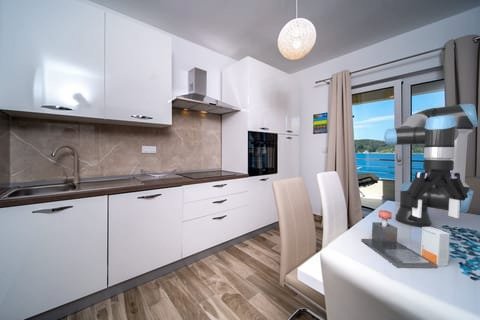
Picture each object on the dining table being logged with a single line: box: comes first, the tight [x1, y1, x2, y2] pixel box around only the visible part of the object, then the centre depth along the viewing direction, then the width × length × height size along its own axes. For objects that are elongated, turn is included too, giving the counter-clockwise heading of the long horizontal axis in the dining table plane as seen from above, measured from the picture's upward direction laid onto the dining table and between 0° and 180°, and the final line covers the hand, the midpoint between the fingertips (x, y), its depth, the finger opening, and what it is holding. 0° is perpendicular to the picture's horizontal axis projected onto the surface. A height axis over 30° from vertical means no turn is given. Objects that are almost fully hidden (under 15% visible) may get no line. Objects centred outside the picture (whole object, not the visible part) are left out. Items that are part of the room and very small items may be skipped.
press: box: [360, 221, 438, 269], centre depth 73 cm, size 14×19×9 cm
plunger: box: [378, 209, 393, 226], centre depth 79 cm, size 4×4×10 cm
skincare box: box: [420, 226, 451, 267], centre depth 68 cm, size 6×4×12 cm
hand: (434, 216), depth 67 cm, fingers open, 13 cm apart
